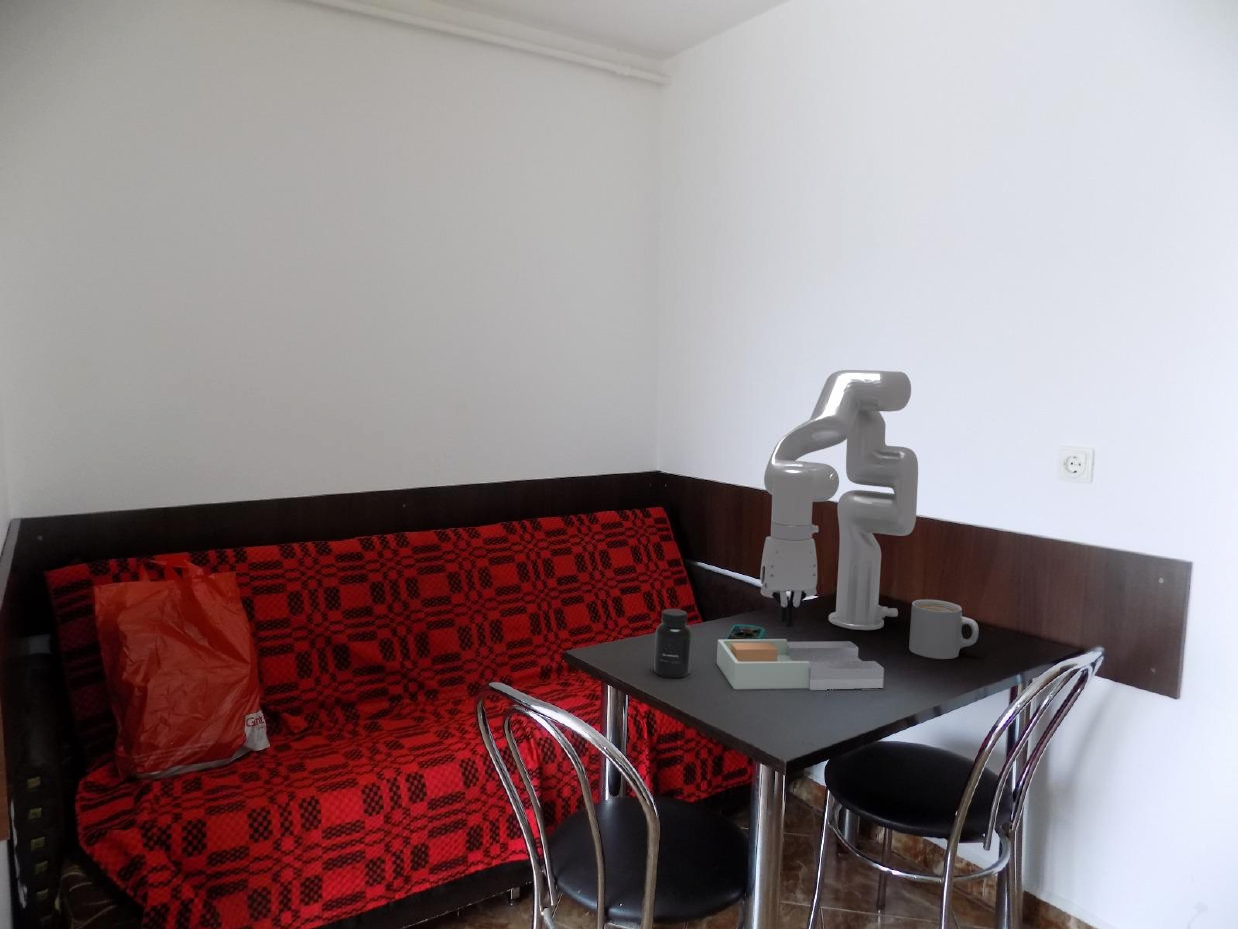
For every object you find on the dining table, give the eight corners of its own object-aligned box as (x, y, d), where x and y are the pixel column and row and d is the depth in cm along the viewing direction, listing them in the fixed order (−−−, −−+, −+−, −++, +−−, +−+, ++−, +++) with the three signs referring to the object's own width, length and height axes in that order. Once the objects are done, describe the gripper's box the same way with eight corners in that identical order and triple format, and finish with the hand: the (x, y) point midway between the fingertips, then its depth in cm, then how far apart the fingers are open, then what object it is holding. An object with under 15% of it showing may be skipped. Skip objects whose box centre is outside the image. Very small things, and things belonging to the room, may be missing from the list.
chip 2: (770, 662, 164) (771, 642, 163) (776, 669, 160) (777, 649, 159) (750, 662, 163) (751, 642, 163) (756, 670, 159) (757, 649, 159)
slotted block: (849, 660, 172) (850, 641, 172) (882, 689, 156) (884, 668, 156) (783, 661, 170) (784, 641, 170) (809, 690, 155) (811, 669, 154)
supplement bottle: (663, 681, 157) (666, 618, 156) (648, 669, 163) (650, 608, 162) (696, 676, 160) (698, 615, 159) (679, 665, 166) (681, 606, 165)
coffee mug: (901, 651, 179) (904, 605, 178) (918, 641, 187) (921, 597, 186) (966, 666, 171) (970, 618, 170) (981, 655, 178) (985, 608, 177)
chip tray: (784, 662, 169) (785, 639, 169) (808, 688, 156) (809, 662, 155) (716, 663, 168) (717, 639, 167) (734, 689, 154) (735, 663, 154)
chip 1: (750, 662, 163) (751, 642, 163) (756, 670, 159) (757, 649, 159) (730, 663, 163) (731, 643, 162) (735, 670, 159) (736, 649, 158)
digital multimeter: (765, 638, 187) (766, 625, 186) (755, 659, 172) (756, 645, 172) (732, 635, 189) (733, 622, 188) (720, 655, 175) (720, 641, 174)
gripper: (822, 527, 164) (818, 618, 166) (747, 528, 162) (744, 620, 165) (836, 535, 157) (831, 630, 159) (758, 536, 155) (754, 632, 157)
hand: (787, 625), depth 162 cm, fingers closed
